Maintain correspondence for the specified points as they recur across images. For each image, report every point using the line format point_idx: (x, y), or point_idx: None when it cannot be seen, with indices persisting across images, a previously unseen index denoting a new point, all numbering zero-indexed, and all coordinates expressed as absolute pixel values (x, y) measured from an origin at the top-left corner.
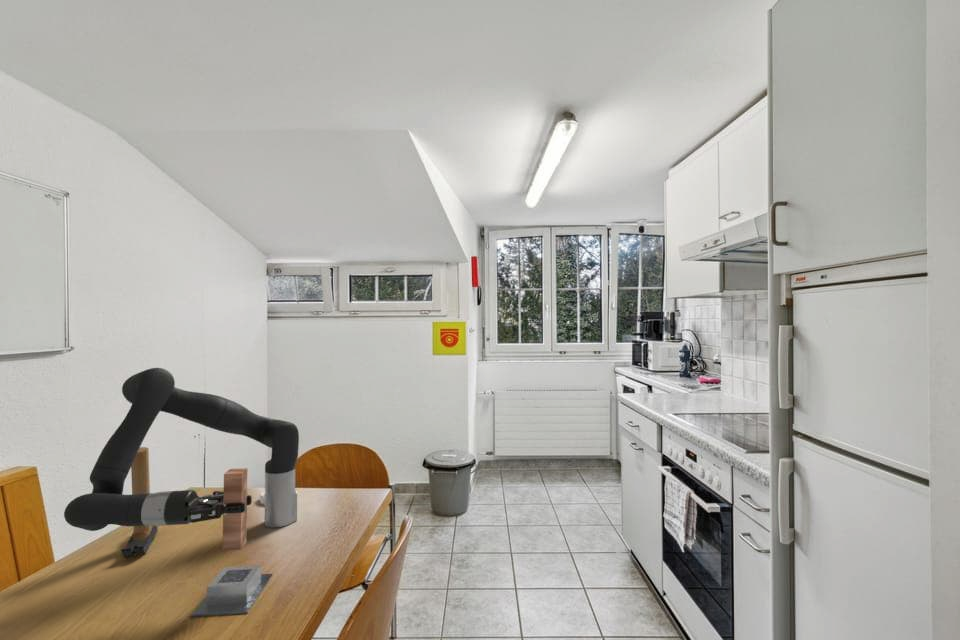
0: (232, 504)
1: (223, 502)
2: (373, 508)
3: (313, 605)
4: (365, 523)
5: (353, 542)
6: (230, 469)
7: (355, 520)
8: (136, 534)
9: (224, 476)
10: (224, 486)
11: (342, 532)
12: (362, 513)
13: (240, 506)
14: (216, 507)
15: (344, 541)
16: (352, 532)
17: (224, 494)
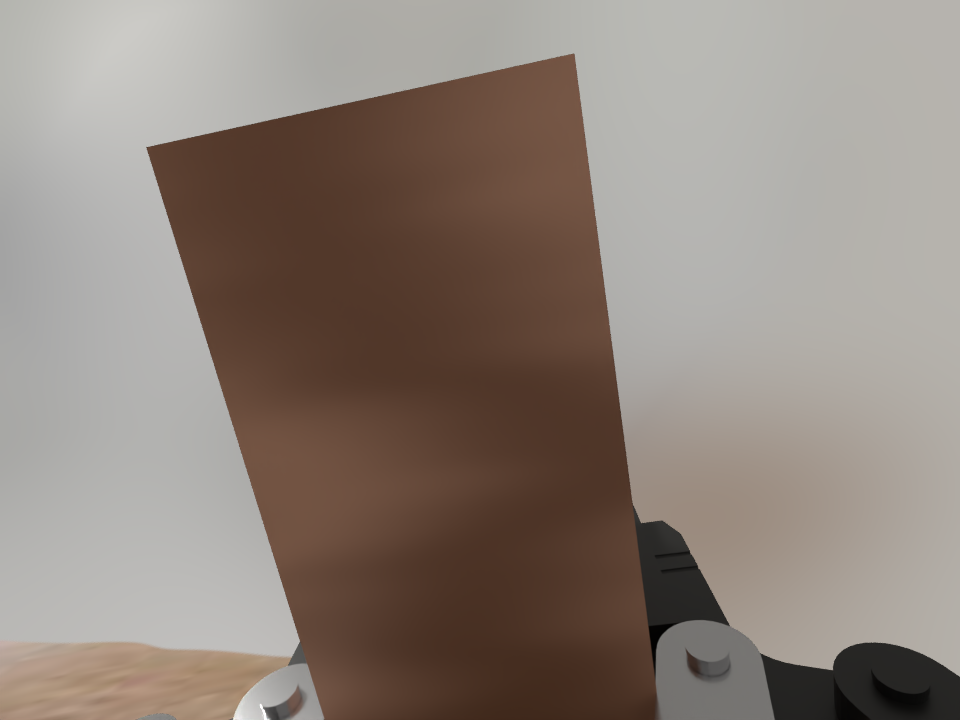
0: (665, 580)
1: (654, 685)
2: (8, 649)
3: None
4: (123, 650)
5: (259, 658)
6: (204, 143)
7: (55, 689)
8: None
9: (577, 131)
10: (613, 372)
11: (130, 715)
12: (12, 677)
13: (668, 529)
14: (944, 708)
15: (226, 690)
16: (165, 678)
17: (630, 535)
